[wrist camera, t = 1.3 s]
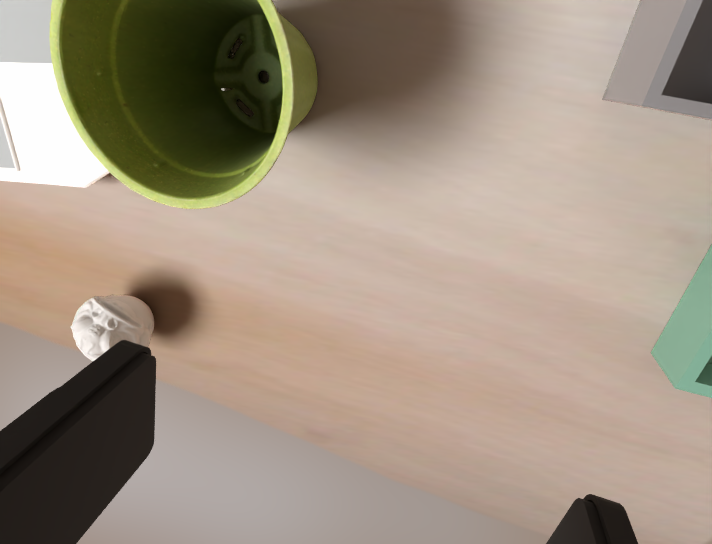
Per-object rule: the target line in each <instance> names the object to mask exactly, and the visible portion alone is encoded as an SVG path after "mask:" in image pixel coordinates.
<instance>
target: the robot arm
mask: <svg viewBox="0 0 712 544" xmlns="http://www.w3.org/2000/svg"><path fill="white" fill-rule="evenodd" d="M155 384H156V358H155V357H154V356H151V350H150V349H149V348H148V347H145V346H142V345H139V344H136V343H133V342H130V341H127V340H121V341H119V342H118V343H116V344H115V345H114V346H112V347H111V348H110V349H109V350H107V351H106V352H105V353H103V354H102V355H101V356H100V357H98V358H97V359H96V360H94V361H93V362H92V363H91V364H89V365H88V366H87V367H85V368H84V369H83V370H82V371H80V372H79V373H78V374H77V375H75V376H74V377H73V378H71V379H70V380H69V381H68V382H66V383H65V384H64V385H63V386H61V387H59V388H57V389H56V390H54V391H52V392H51V393H49V394H48V395H47V396H45V397H44V398H43V399H41V400H40V401H39V402H37V403H36V404H35V405H34V406H32V407H31V408H30V409H28V410H27V411H26V412H25V413H23V414H22V415H21V416H19V417H18V418H17V419H15V420H14V421H13V422H12V423H10V424H9V425H8V426H7V427H5V428H4V429H2V430H1V431H0V544H76V543H77V542H78V541H79V540H80V538H81V537H82V536H83V535H84V533H85V532H86V531H87V530H88V529H89V527H90V526H91V525H92V524H93V522H94V521H95V520H96V519H97V517H98V516H99V515H100V514H101V513H102V511H103V510H104V509H105V508H106V507H107V505H108V504H109V503H110V502H111V501H112V499H113V498H114V497H115V495H116V494H117V493H118V492H119V491H120V489H121V488H122V487H123V486H124V485H125V483H126V482H127V481H128V480H129V479H130V477H131V476H132V475H133V474H134V472H135V471H136V470H137V469H138V468H139V466H140V465H141V464H142V462H143V461H144V460H145V459H146V458H147V456H148V455H149V453H150V451H151V449H152V447H153V444H154V426H155ZM546 544H638V542H637V539H636V537H635V534H634V532H633V529H632V526H631V524H630V521H629V518H628V516H627V513H626V511H625V509H624V507H623V506H622V505H621V504H619V503H616V502H613V501H610V500H607V499H604V498H601V497H598V496H595V495H592V494H589V495H586V496H585V498H584V499H580V498H578V499H576V500H575V501H574V503H573V504H572V506H571V507H570V509H569V510H568V512H567V513H566V515H565V516H564V518H563V519H562V521H561V522H560V524H559V525H558V527H557V528H556V530H555V531H554V533H553V534H552V536H551V537H550V539H549V540H548V542H547V543H546Z"/></svg>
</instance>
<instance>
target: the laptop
mask: <svg viewBox="0 0 712 544" xmlns="http://www.w3.org/2000/svg"><path fill="white" fill-rule="evenodd" d="M51 4H52V0H0V181H13V182H25V183H37V184H49V185H61V186H72V187H84V188H86V187H88V186H90V185H91V184H93V183H95V182H96V181H98V180H99V179H101V178H103V177H104V176H106V175H107V174H109V173H110V172H109V171H108V170H107V169H106V168H105V167H104V166H103V165H102V164H101V163H100V161H99V160H98V159H97V158H96V157H95V156H94V155H93V154H92V152H91V151H90V150H89V149H88V147H87V146H86V144H85V143H84V142H83V140H82V139H81V137H80V136H79V134H78V132H77V131H76V129H75V127H74V125H73V123H72V121H71V119H70V117H69V115H68V113H67V111H66V108H65V106H64V104H63V101H62V99H61V96H60V93H59V90H58V87H57V82H56V79H55V75H54V70H53V64H52V60H51V52H50V20H51Z"/></svg>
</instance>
